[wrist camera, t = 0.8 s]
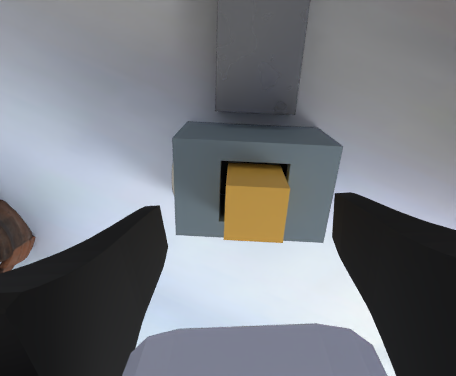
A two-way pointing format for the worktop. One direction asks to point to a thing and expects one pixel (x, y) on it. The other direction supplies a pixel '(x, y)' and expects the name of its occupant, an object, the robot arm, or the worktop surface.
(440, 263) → the robot arm
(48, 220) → the worktop surface
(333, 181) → the blue grey control box
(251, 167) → the button
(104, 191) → the worktop surface
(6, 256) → the pottery mug
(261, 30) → the rail
